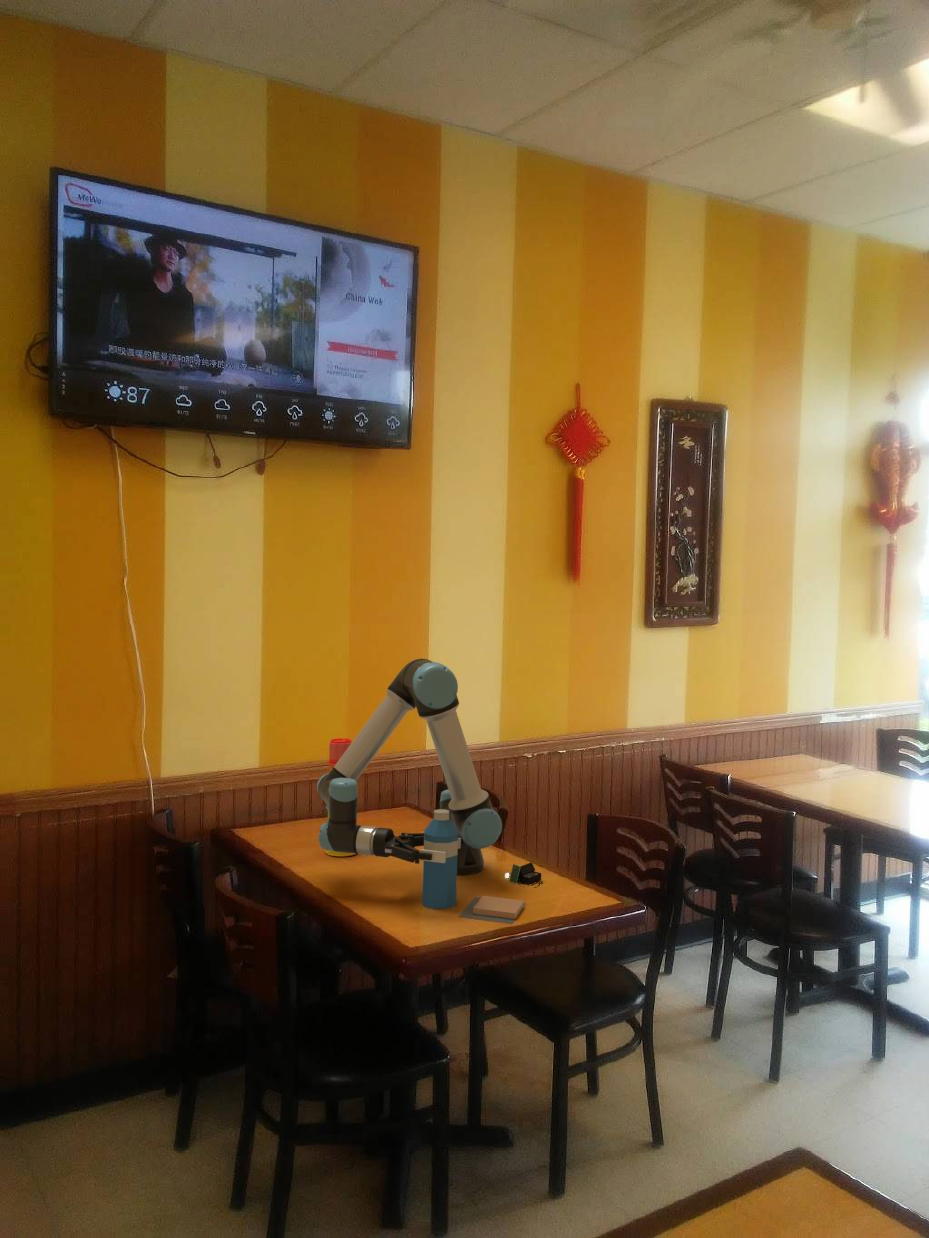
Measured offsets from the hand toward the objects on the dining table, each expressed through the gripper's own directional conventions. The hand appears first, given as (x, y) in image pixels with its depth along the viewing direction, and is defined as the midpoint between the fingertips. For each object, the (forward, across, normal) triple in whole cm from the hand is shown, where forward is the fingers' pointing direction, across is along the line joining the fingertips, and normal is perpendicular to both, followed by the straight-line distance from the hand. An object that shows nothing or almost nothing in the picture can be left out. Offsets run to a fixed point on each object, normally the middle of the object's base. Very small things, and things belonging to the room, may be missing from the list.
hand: (453, 850), depth 266 cm
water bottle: (-3, 0, -15) cm, 16 cm away
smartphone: (+14, -29, -16) cm, 36 cm away
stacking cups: (-45, -34, -15) cm, 58 cm away
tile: (+7, 0, -13) cm, 15 cm away
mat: (+11, 0, -15) cm, 19 cm away
